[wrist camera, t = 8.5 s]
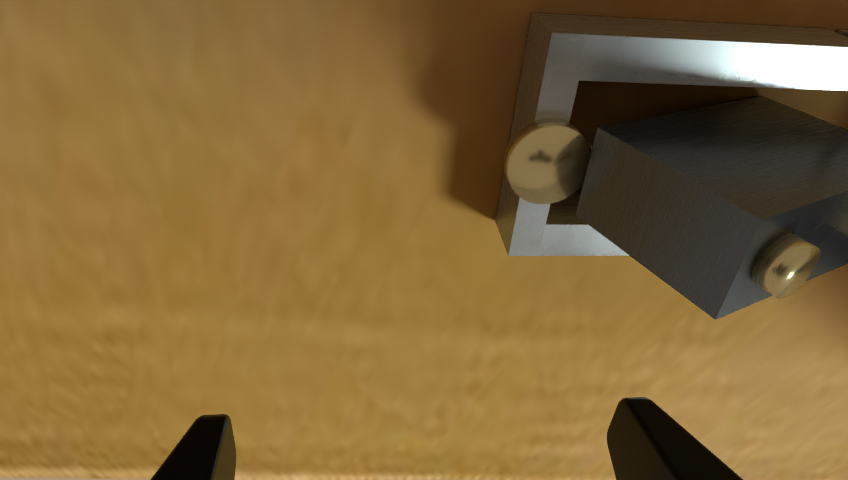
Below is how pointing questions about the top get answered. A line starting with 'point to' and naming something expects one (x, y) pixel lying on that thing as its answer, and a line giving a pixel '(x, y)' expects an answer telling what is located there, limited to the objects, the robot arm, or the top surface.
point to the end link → (637, 63)
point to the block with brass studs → (723, 199)
